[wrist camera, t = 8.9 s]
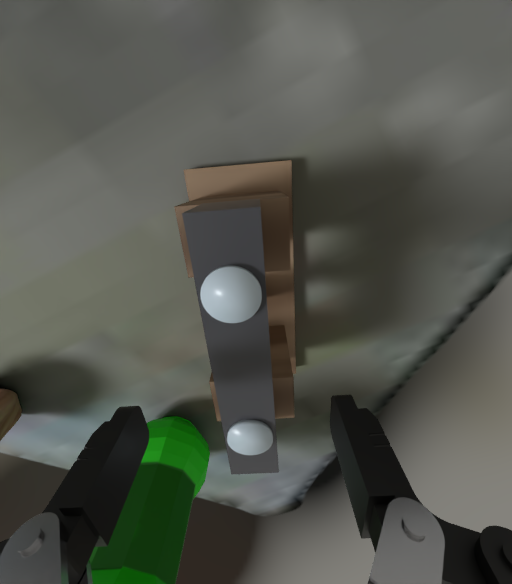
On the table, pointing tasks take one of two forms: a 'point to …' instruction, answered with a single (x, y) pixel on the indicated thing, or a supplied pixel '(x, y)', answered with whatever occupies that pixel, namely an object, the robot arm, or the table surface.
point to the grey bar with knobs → (236, 326)
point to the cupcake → (8, 411)
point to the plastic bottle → (155, 508)
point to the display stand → (277, 255)
